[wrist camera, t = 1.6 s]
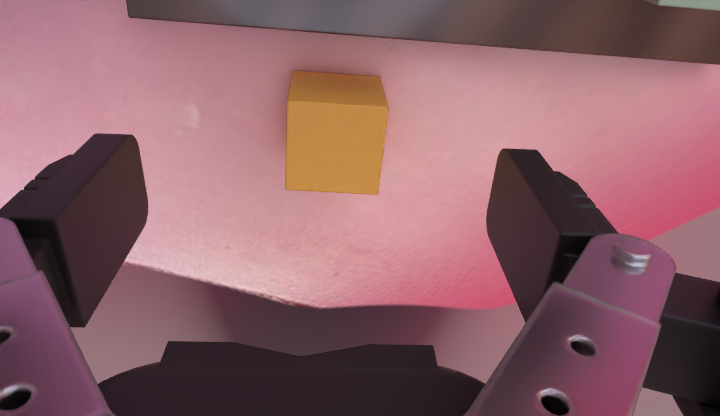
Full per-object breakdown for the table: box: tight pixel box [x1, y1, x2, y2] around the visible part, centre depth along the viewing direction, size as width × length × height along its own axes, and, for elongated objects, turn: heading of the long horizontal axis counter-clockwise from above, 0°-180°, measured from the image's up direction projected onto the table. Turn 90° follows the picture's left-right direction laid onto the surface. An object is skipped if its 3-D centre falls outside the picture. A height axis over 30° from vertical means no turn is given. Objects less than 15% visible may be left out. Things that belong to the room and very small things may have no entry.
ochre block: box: [285, 70, 389, 195], centre depth 27 cm, size 5×5×5 cm
